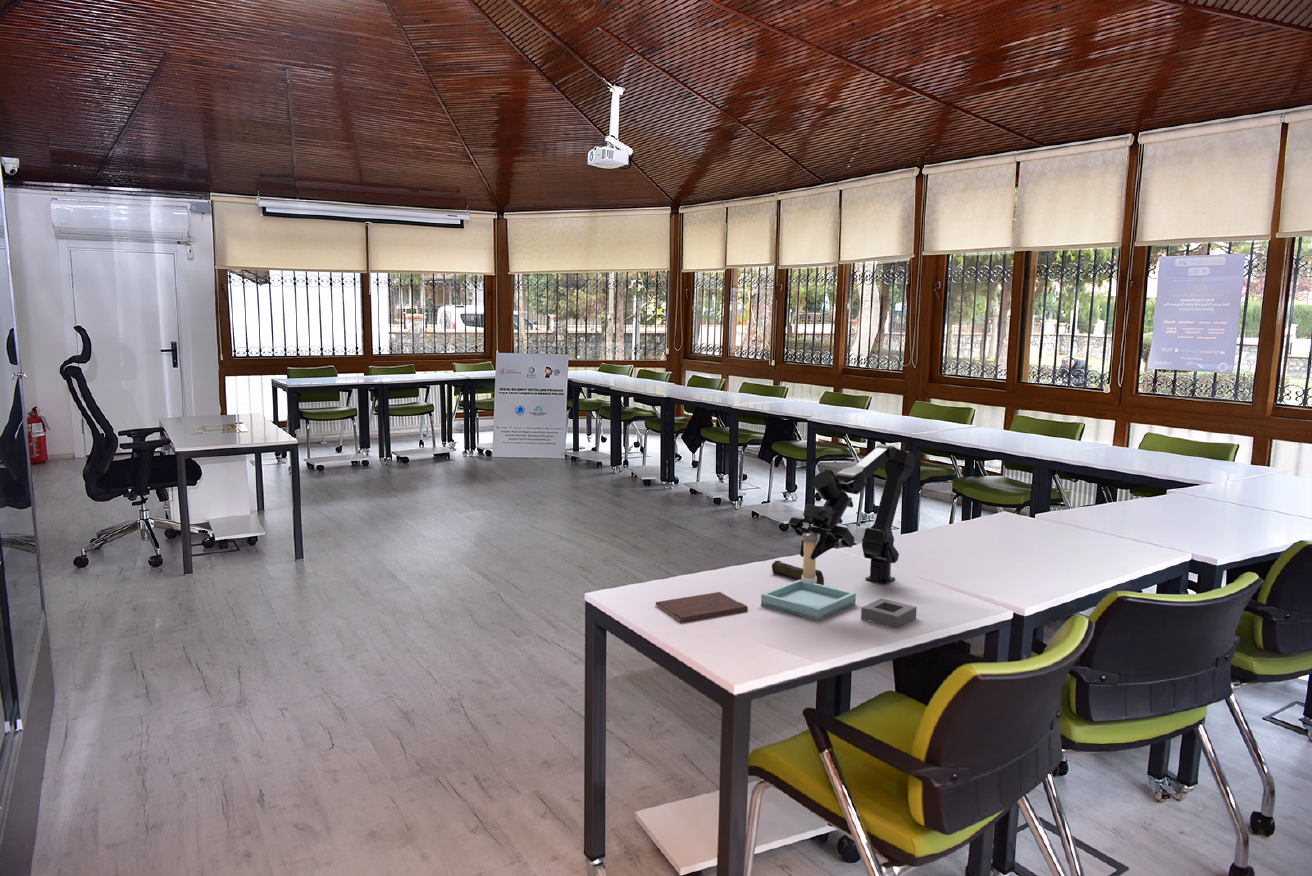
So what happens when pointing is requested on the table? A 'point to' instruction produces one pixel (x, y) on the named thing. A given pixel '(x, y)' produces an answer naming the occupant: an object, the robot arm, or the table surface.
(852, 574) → the table surface
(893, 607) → the socket block
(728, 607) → the notebook
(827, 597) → the parts tray
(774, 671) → the table surface
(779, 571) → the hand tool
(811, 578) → the fuse
